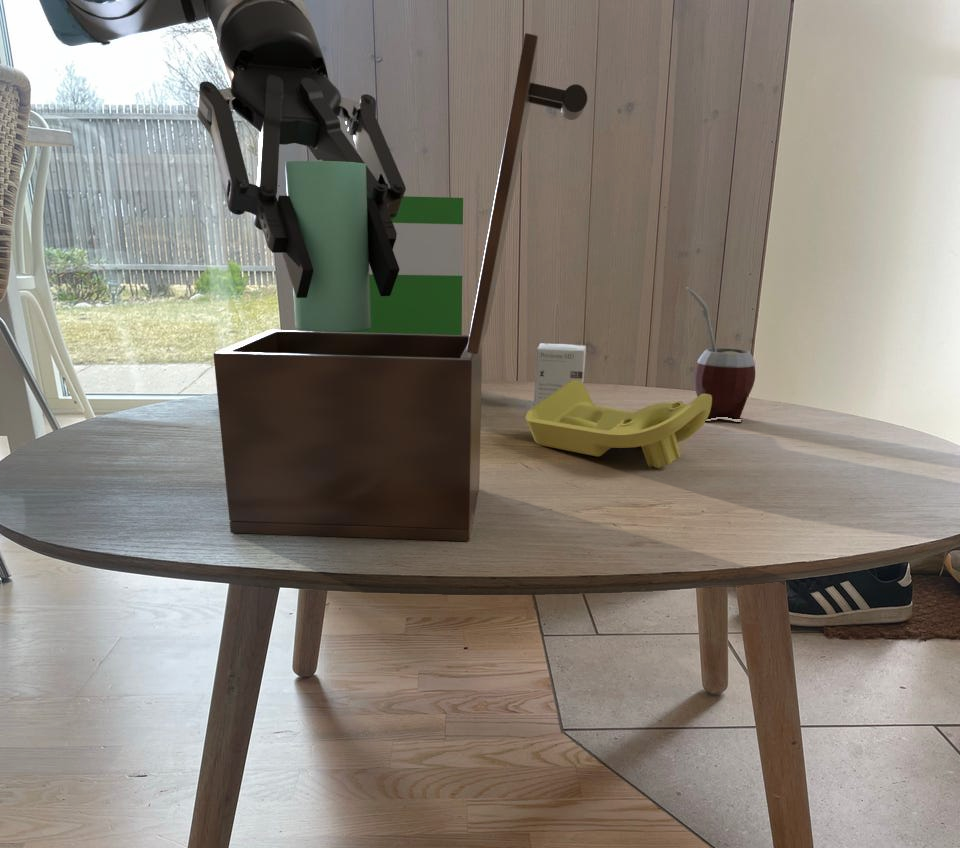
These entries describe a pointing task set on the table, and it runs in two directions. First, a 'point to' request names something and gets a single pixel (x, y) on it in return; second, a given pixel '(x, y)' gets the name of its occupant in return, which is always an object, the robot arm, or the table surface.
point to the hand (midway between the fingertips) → (348, 283)
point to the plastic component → (615, 424)
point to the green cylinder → (332, 243)
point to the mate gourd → (723, 374)
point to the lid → (515, 173)
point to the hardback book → (423, 270)
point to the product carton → (557, 368)
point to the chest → (351, 434)
